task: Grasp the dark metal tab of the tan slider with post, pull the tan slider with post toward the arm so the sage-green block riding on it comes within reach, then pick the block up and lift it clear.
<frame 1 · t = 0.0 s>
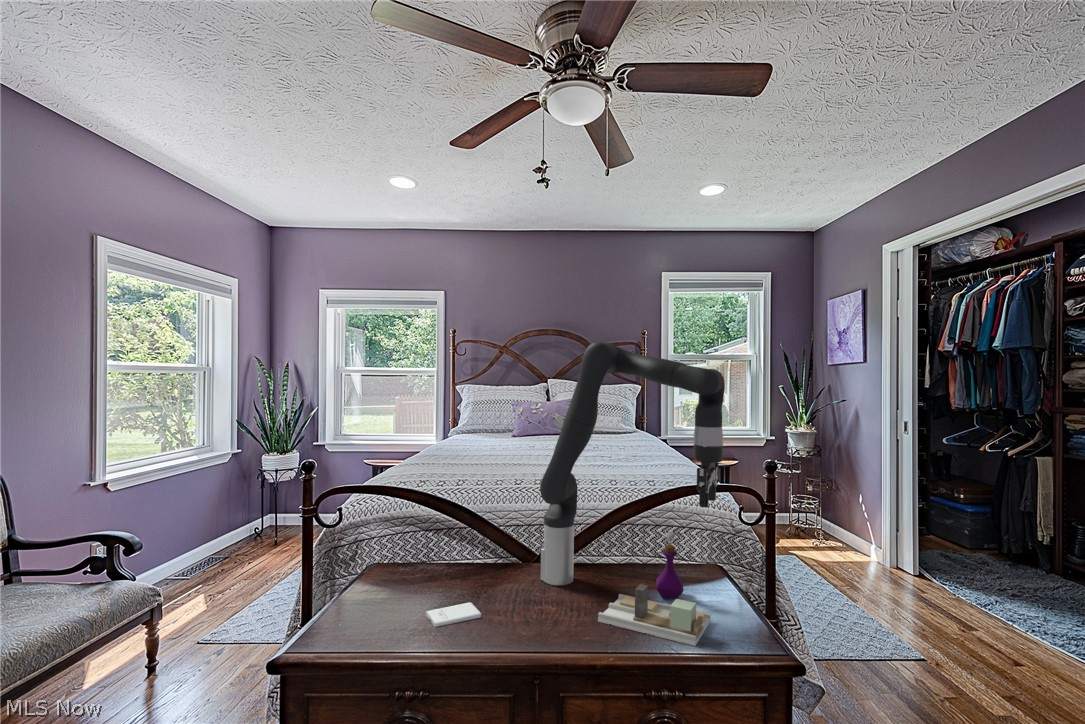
hand: (707, 503, 152), 29 cm above the table, fingers open, 8 cm apart
block: (683, 624, 139), point 2 cm above the table, touching tan slider with post
tan slider with post: (667, 609, 141), point 5 cm above the table, slide at 0.0 cm, touching block
external hard drive: (453, 618, 148), on the table
lane board: (654, 621, 146), on the table
perfume bottle: (669, 596, 163), on the table
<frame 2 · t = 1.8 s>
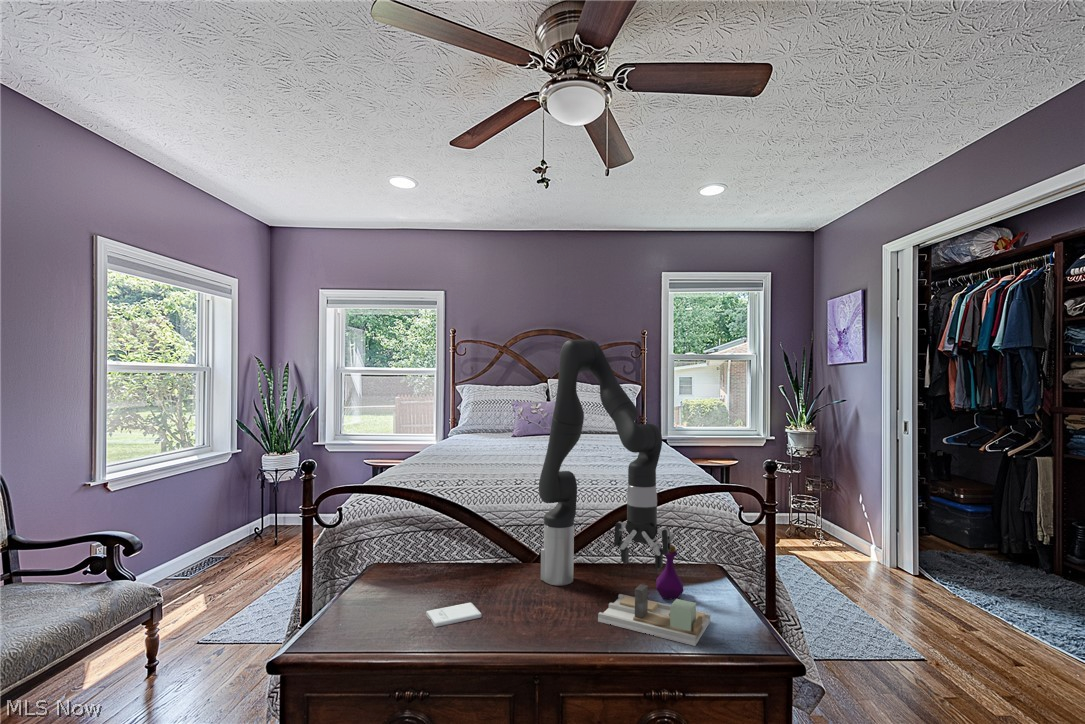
hand: (641, 566, 144), 15 cm above the table, fingers open, 8 cm apart
nothing on the table moved.
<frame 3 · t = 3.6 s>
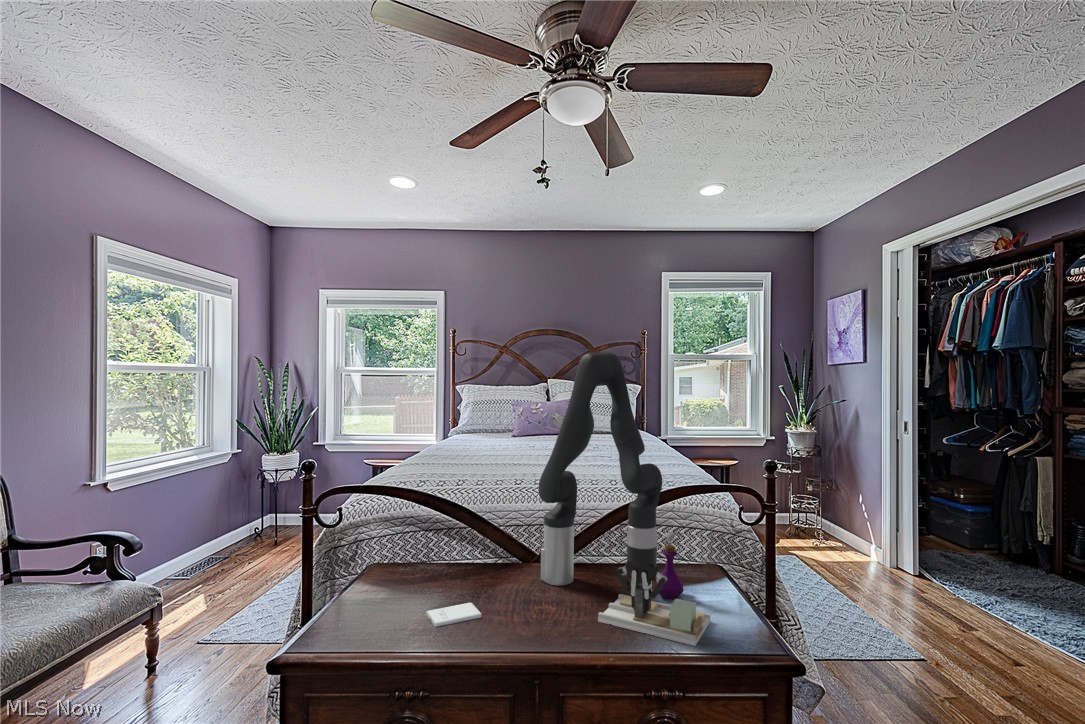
hand: (641, 610, 144), 4 cm above the table, fingers closed on tan slider with post, 2 cm apart
tan slider with post: (667, 609, 141), point 5 cm above the table, slide at 0.0 cm, touching block, gripper
everything else where it was.
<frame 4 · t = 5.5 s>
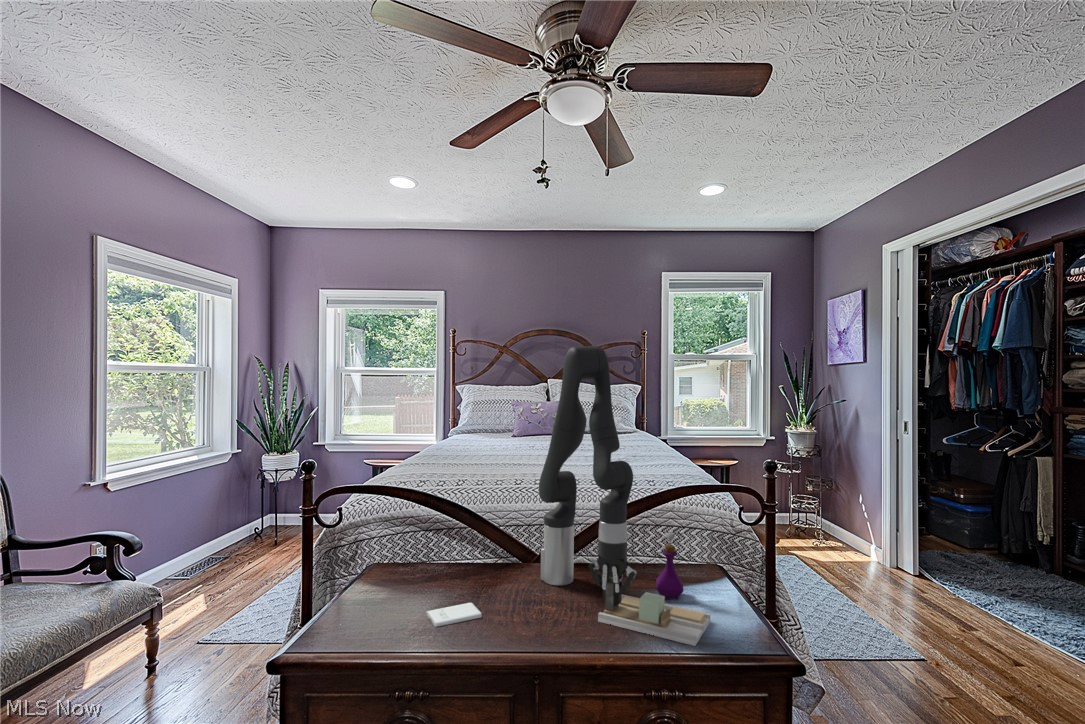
hand: (612, 603, 148), 4 cm above the table, fingers closed on tan slider with post, 2 cm apart
block: (651, 617, 143), point 2 cm above the table, touching tan slider with post
tan slider with post: (636, 602, 145), point 5 cm above the table, slide at 8.0 cm, touching block, gripper
everything else where it was.
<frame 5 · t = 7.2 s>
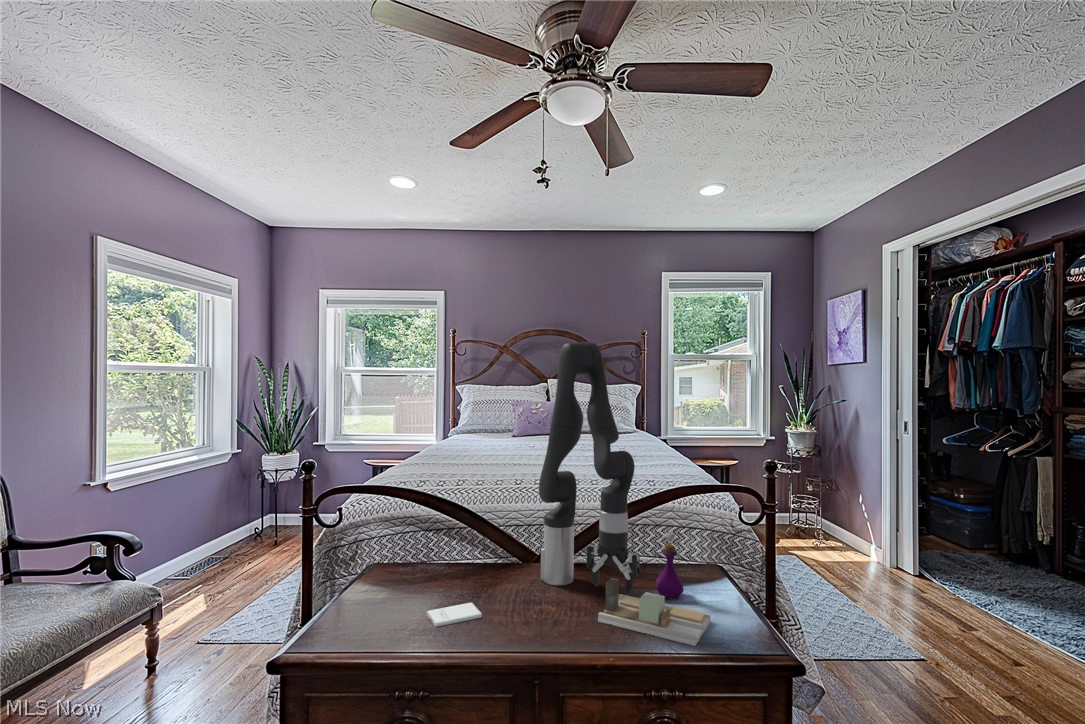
hand: (612, 588, 149), 7 cm above the table, fingers open, 8 cm apart
tan slider with post: (636, 602, 145), point 5 cm above the table, slide at 8.0 cm, touching block
everything else where it was.
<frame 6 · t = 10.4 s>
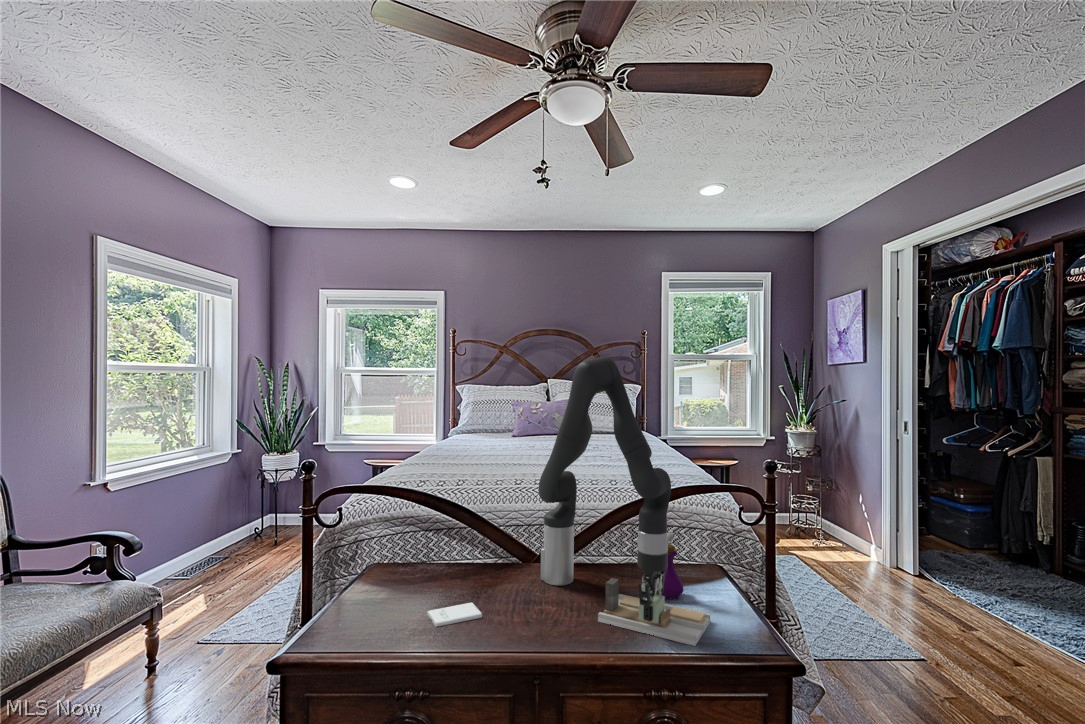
hand: (651, 615, 143), 3 cm above the table, fingers closed on block, 5 cm apart
block: (651, 617, 143), point 3 cm above the table, touching gripper, tan slider with post
everything else where it was.
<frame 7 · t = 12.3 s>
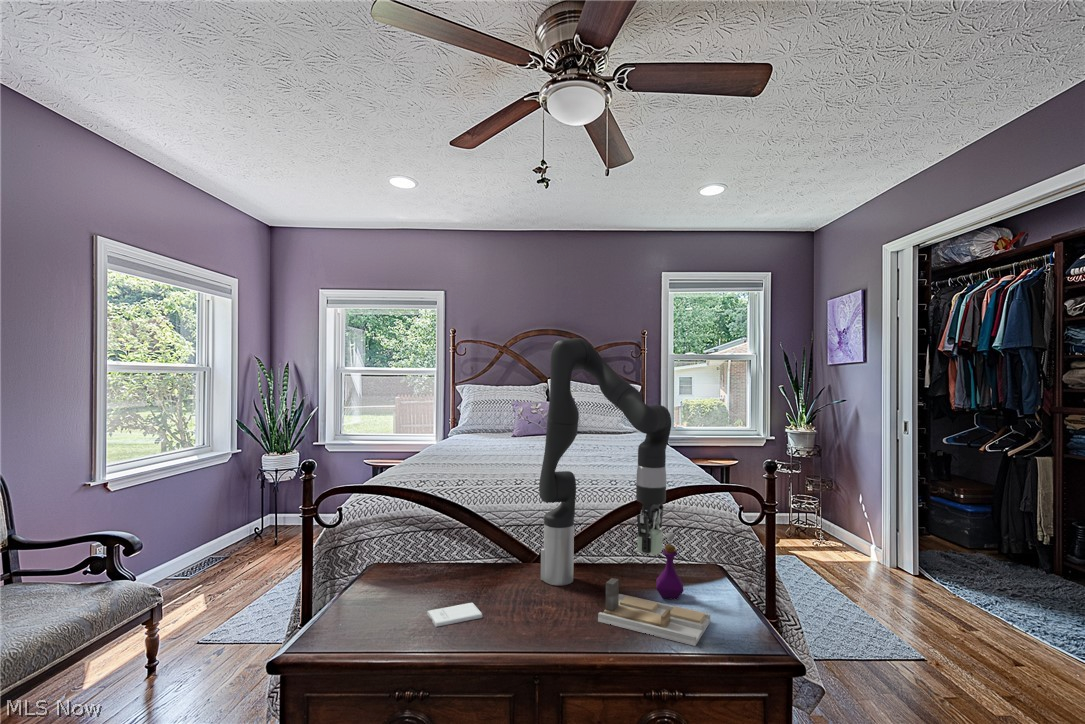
hand: (649, 548, 145), 19 cm above the table, fingers closed on block, 5 cm apart
block: (649, 550, 145), point 19 cm above the table, touching gripper
tan slider with post: (636, 602, 145), point 5 cm above the table, slide at 8.0 cm
everything else where it was.
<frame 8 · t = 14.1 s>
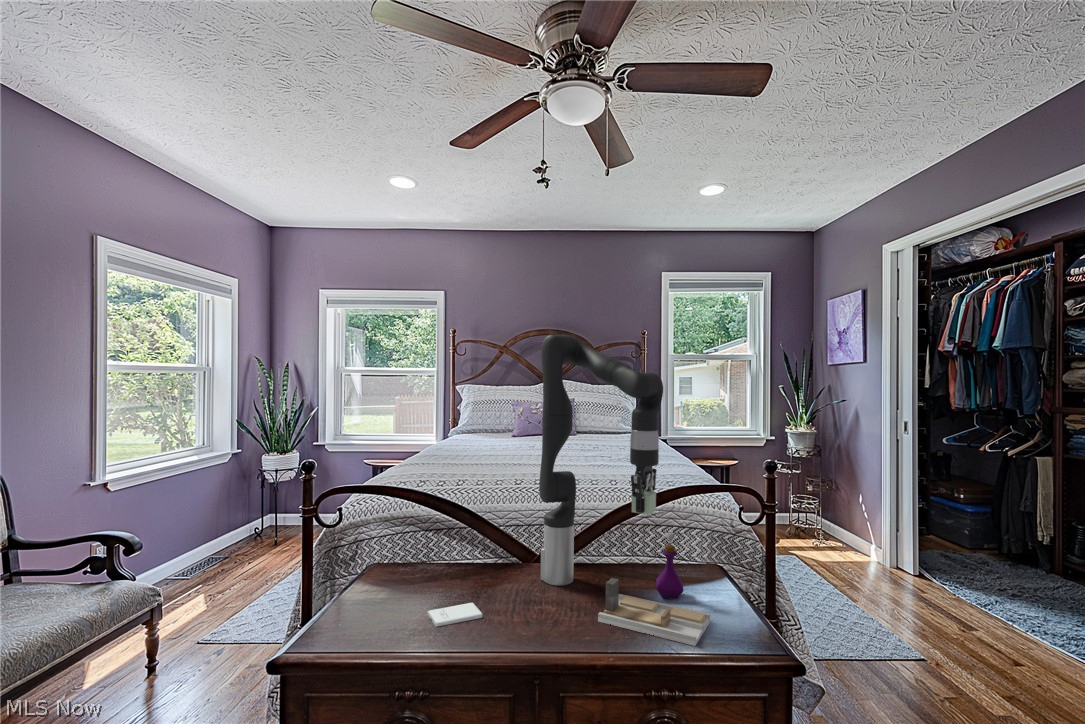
hand: (643, 509, 152), 27 cm above the table, fingers closed on block, 5 cm apart
block: (643, 511, 152), point 27 cm above the table, touching gripper
everything else where it was.
at the end: tan slider with post slide at 8.0 cm; block point 26.9 cm above the table; the gripper is holding block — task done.
